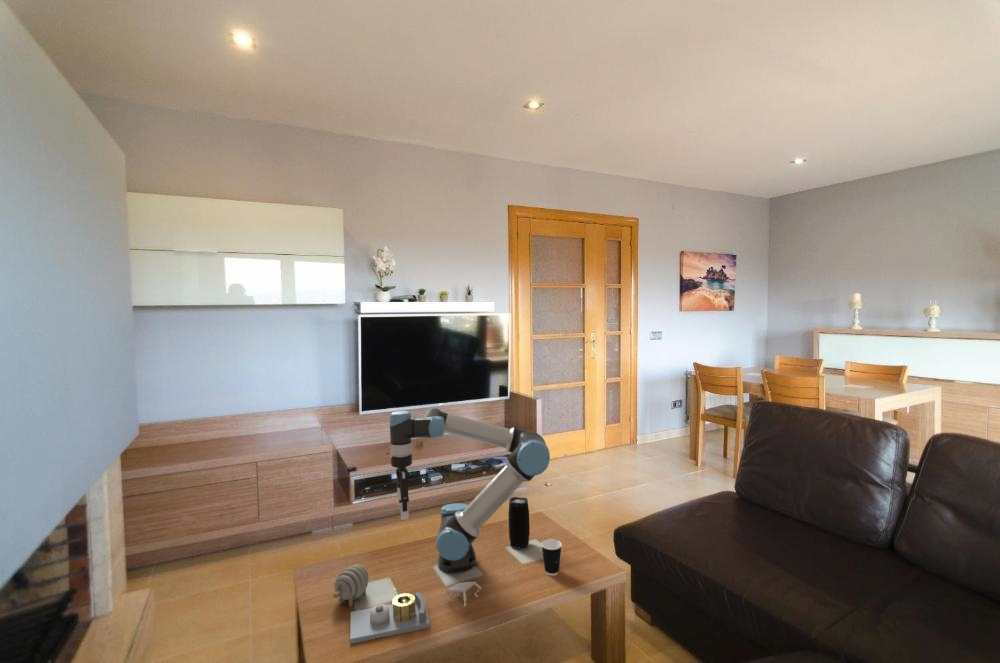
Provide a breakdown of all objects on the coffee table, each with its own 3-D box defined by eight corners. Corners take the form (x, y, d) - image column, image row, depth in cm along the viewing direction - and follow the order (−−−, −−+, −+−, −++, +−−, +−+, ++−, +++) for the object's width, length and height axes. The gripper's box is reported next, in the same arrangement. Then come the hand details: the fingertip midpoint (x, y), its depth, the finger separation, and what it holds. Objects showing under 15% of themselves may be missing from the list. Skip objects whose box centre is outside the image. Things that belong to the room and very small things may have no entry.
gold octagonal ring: (413, 606, 162) (413, 591, 162) (416, 619, 156) (415, 603, 155) (392, 610, 160) (392, 595, 160) (394, 623, 154) (393, 607, 153)
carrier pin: (407, 611, 159) (407, 598, 159) (408, 615, 157) (408, 601, 157) (401, 613, 159) (401, 599, 159) (402, 616, 157) (401, 603, 157)
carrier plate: (424, 602, 167) (423, 587, 167) (429, 627, 153) (429, 611, 153) (350, 616, 160) (350, 600, 160) (350, 643, 147) (349, 626, 146)
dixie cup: (562, 578, 180) (562, 549, 179) (541, 577, 181) (540, 548, 180) (562, 567, 188) (561, 539, 187) (541, 566, 189) (541, 538, 188)
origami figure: (457, 612, 161) (457, 597, 161) (443, 601, 168) (443, 587, 167) (486, 598, 169) (485, 584, 168) (472, 588, 175) (471, 574, 175)
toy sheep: (377, 588, 176) (376, 558, 176) (351, 616, 160) (350, 583, 159) (351, 584, 179) (350, 554, 178) (323, 612, 163) (322, 579, 162)
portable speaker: (531, 541, 209) (530, 496, 209) (526, 551, 200) (525, 505, 200) (512, 539, 212) (511, 494, 211) (506, 549, 203) (505, 503, 202)
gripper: (388, 446, 188) (390, 500, 189) (393, 465, 164) (395, 527, 165) (408, 444, 190) (409, 498, 191) (415, 463, 166) (417, 524, 167)
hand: (403, 511), depth 178 cm, fingers open, 13 cm apart
